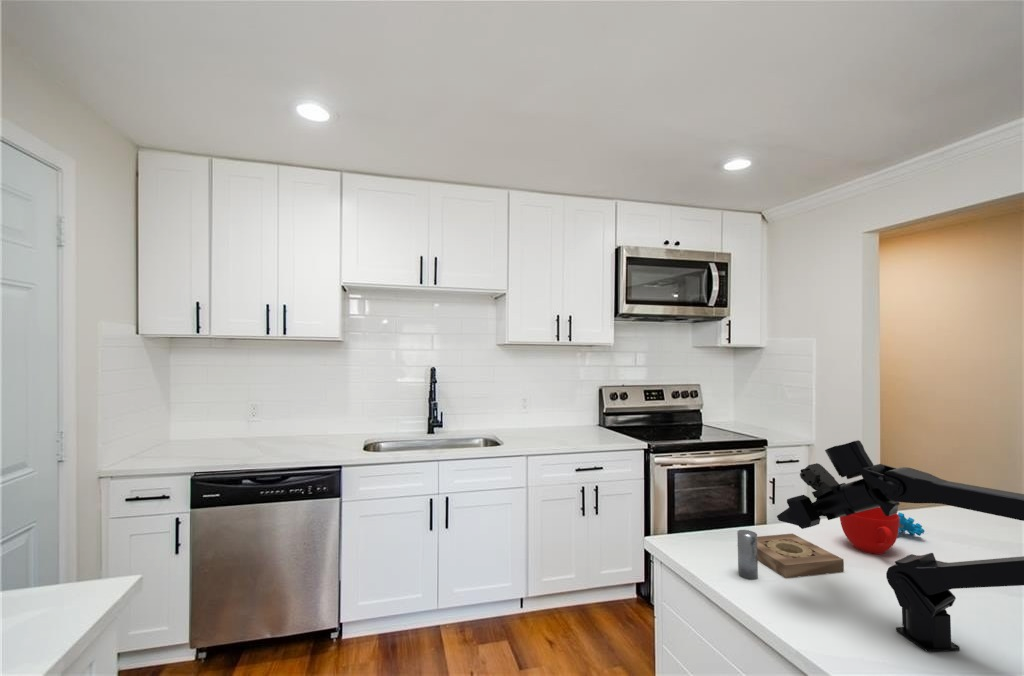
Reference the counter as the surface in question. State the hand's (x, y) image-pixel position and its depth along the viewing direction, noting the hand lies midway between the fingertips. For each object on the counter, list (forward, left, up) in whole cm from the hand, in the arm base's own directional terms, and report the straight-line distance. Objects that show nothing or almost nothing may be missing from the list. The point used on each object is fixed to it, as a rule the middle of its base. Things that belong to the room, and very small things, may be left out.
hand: (790, 514), depth 108 cm
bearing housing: (+10, -6, -15) cm, 19 cm away
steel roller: (+3, +9, -15) cm, 18 cm away
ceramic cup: (+13, -31, -15) cm, 37 cm away
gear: (+23, -48, -16) cm, 56 cm away
